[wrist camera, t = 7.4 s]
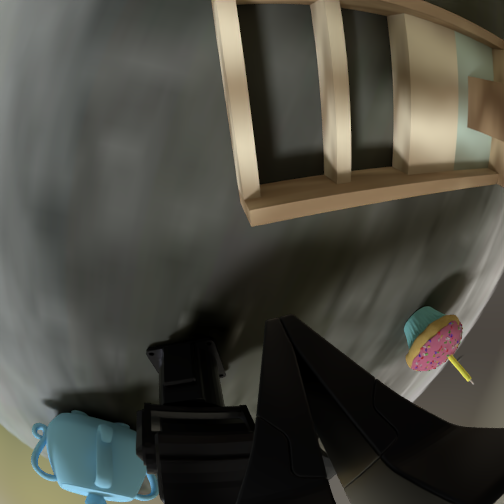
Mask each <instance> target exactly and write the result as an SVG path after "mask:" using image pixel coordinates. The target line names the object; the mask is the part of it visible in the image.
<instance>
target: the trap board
mask: <svg viewBox="0 0 504 504" xmlns="http://www.w3.org/2000/svg"><path fill="white" fill-rule="evenodd" d="M211 1H212V8H213V16H214V23H215V30H216V37H217V44H218V51H219V58H220V65H221V72H222V79H223V86H224V93H225V100H226V107H227V114H228V121H229V128H230V134H231V141H232V148H233V155H234V162H235V169H236V175H237V182H238V189H239V196H240V202H241V205H242V207H243V209H244V211H245V214H246V216H247V218H248V220H249V222H250V225H251V227H253V226H258V225H263V224H268V223H272V222H277V221H283V220H288V219H293V218H298V217H303V216H308V215H313V214H319V213H324V212H329V211H334V210H340V209H345V208H351V207H356V206H362V205H367V204H373V203H379V202H384V201H390V200H396V199H402V198H408V197H414V196H420V195H426V194H432V193H439V192H445V191H451V190H458V189H465V188H471V187H478V186H485V185H492V184H499V185H500V186H502V187H504V142H503V141H501V140H498V139H496V138H493V137H491V136H489V135H486V134H484V133H481V132H478V131H476V130H473V129H470V128H467V122H468V76H470V77H476V78H480V79H485V80H490V81H494V82H498V83H502V84H504V40H502V39H500V38H499V37H497V36H496V35H494V34H492V33H490V32H489V31H487V30H485V29H483V28H482V27H480V26H478V25H476V24H474V23H472V22H470V21H468V20H466V19H464V18H462V17H460V16H458V15H456V14H454V13H452V12H450V11H447V10H445V9H443V8H440V7H438V6H436V5H433V4H431V3H428V2H425V1H423V0H211ZM242 4H305V5H310V8H311V15H312V22H313V29H314V37H315V45H316V54H317V63H318V73H319V85H320V97H321V111H322V128H323V151H324V175H317V176H311V177H304V178H297V179H291V180H285V181H279V182H273V183H267V184H262V185H259V177H258V168H257V160H256V151H255V143H254V135H253V127H252V118H251V110H250V103H249V95H248V87H247V79H246V72H245V64H244V57H243V49H242V42H241V35H240V28H239V21H238V14H237V7H236V5H242ZM341 8H345V9H352V10H358V11H364V12H369V13H374V14H379V15H383V16H387V23H388V30H389V39H390V49H391V61H392V76H393V103H394V131H393V159H392V167H382V168H372V169H364V170H355V171H351V117H350V95H349V80H348V67H347V56H346V46H345V37H344V29H343V22H342V15H341Z"/></svg>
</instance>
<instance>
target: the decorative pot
mask: <svg viewBox="0 0 504 504" xmlns="http://www.w3.org/2000/svg"><path fill="white" fill-rule="evenodd" d="M129 428H130V426H129V425H127V424H124V423H112V422H109V421H106V420H102V419H98V418H94V417H90V416H88V415H87V414H86V413H84V412H82V411H78V410H72V411H71V413H61V414H59V415H58V416H56V417H55V418H54V419H53V420H52V421H51V422H50V423H49V425H48V427H47V426H46V425H44V424H41V423H36V424H34V425H33V427H32V433H33V435H34V437H36V438H37V439H40V441H39V442H38V444H37V445H36V447H35V449H34V451H33V453H32V456H31V463H32V466H33V468H34V470H35V471H36V472H37V473H38V474H39V475H40V476H41V477H43V478H45V479H47V480H50V481H58V484H59V485H60V486H61V488H63V489H65V490H67V491H70V492H73V493H77V494H81V495H84V496H87V498H86V500H85V504H106V501H105V500H109V501H117V502H127V501H131V500H133V499H134V498H135V499H137V500H141V501H147V500H151V499H153V498H155V497H156V496H157V495H158V493H159V490H158V484H157V479H156V477H155V475H154V474H147V469H146V466H144V464H143V461H142V460H141V459H140V458H139V457H138V456H137V455H136V431H134V430H132V429H129ZM37 430H42V431H43V436H41V435H39V434H38V433H37ZM45 445H46V446H47V452H48V457H49V461H50V464H51V467H52V470H53V472H54V475H51V474H47V473H45V472H44V471H42V470H41V469H40V468H39V466H38V458H39V455H40V453H41V451H42V449H43V448H44V446H45ZM145 475H147V477H148V479H149V482H150V485H151V493H150V494H148V495H141V494H137V493H138V491H139V489H140V487H141V485H142V483H143V481H144V478H145Z"/></svg>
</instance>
